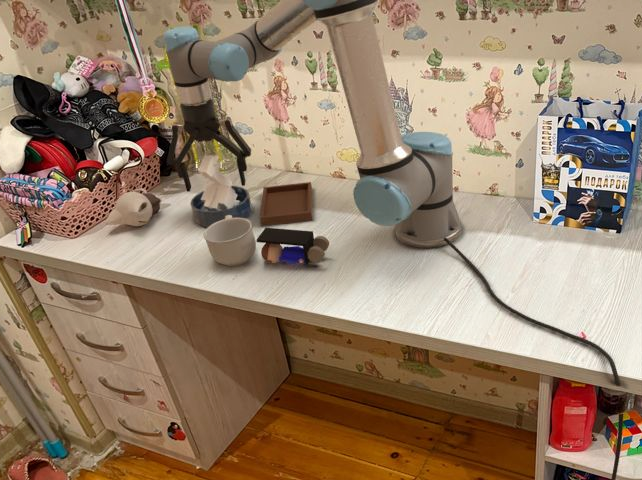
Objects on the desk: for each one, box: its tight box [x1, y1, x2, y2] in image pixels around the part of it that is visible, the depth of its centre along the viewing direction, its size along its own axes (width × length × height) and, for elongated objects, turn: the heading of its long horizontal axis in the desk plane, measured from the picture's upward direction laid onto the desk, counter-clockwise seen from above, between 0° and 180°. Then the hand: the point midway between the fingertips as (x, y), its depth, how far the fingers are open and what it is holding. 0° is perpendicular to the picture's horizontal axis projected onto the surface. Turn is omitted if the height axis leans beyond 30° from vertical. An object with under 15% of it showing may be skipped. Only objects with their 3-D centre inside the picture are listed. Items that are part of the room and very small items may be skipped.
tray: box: [259, 181, 313, 227], centre depth 178 cm, size 18×13×2 cm
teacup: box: [203, 215, 257, 267], centre depth 159 cm, size 14×11×8 cm
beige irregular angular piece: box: [197, 154, 241, 211], centre depth 173 cm, size 7×12×15 cm
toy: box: [105, 187, 163, 227], centre depth 176 cm, size 13×9×15 cm
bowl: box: [190, 185, 253, 228], centre depth 177 cm, size 15×15×4 cm
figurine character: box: [255, 227, 330, 267], centre depth 155 cm, size 7×8×15 cm
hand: (216, 186), depth 173 cm, fingers open, 13 cm apart
